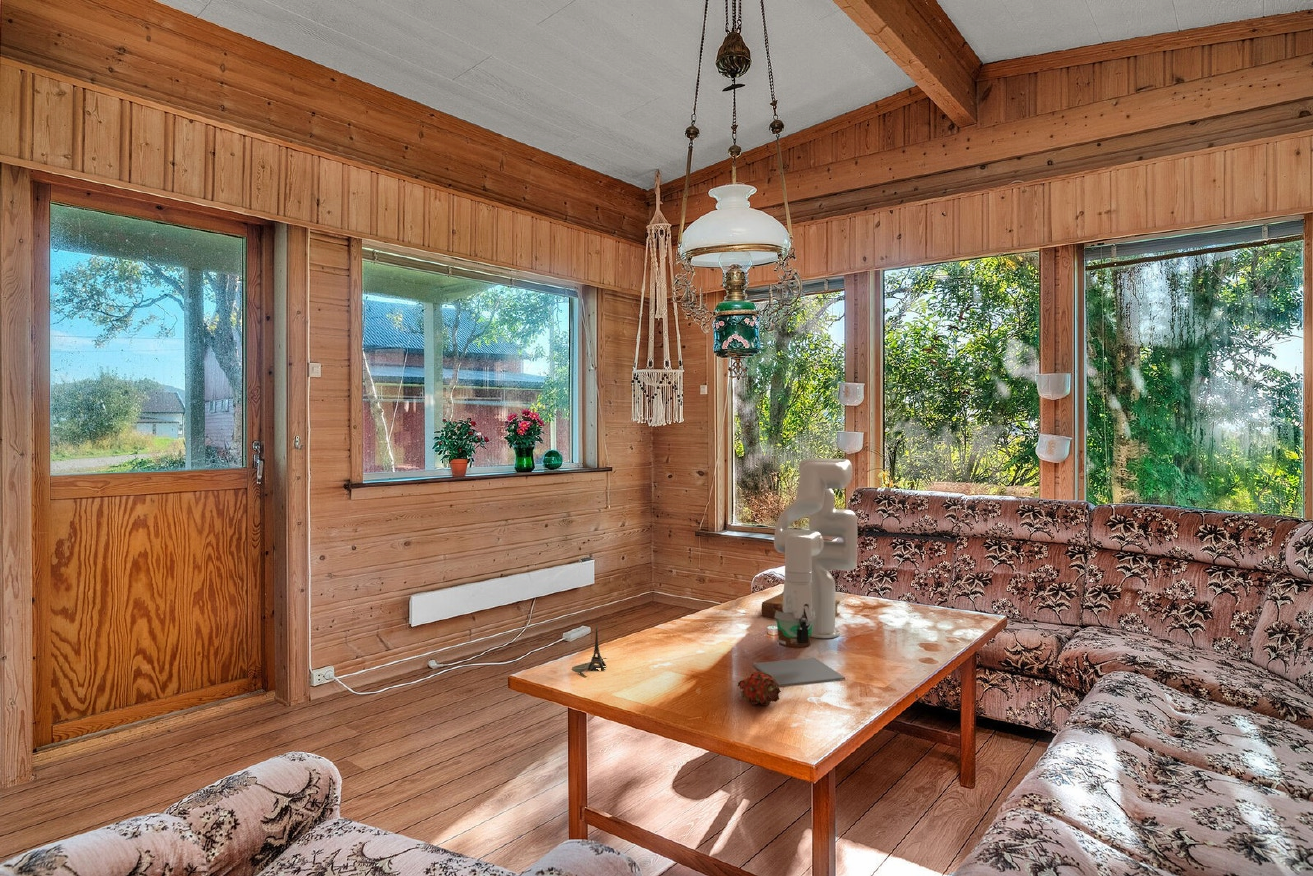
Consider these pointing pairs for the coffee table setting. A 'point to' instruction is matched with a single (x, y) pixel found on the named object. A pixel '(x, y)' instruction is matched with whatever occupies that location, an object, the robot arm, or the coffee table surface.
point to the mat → (798, 671)
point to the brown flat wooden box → (780, 606)
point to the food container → (791, 630)
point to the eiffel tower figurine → (594, 660)
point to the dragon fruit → (760, 688)
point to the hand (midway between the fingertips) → (797, 639)
